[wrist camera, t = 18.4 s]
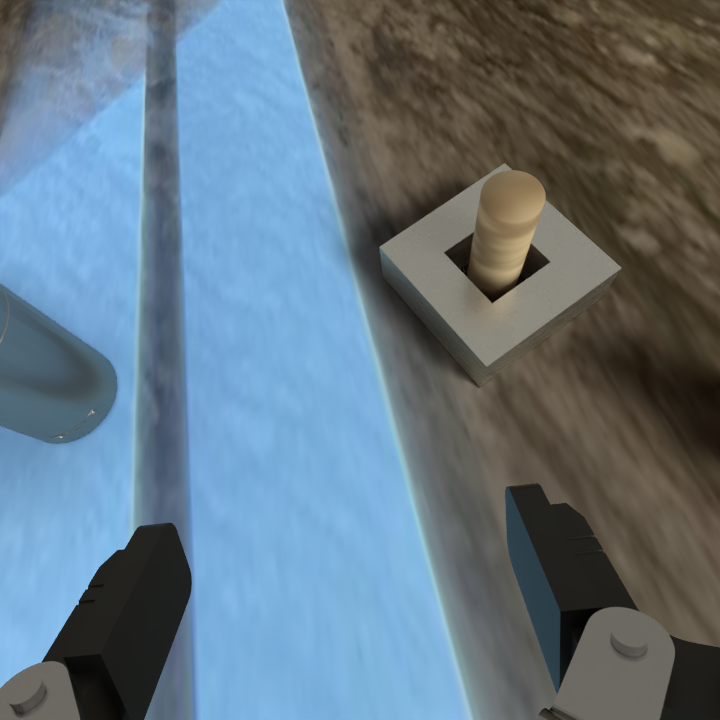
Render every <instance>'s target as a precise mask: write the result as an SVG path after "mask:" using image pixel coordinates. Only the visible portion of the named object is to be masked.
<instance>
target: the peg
mask: <svg viewBox="0 0 720 720" xmlns="http://www.w3.org/2000/svg"><path fill="white" fill-rule="evenodd" d="M544 203H545V191H544V188H543V186H542V184H541V183H540V182H539V181H538V180H537V179H536V178H535V177H533V176H532V175H530V174H528V173H525V172H522V171H516V170H509V171H503V172H499V173H497V174H495V175H493V176H491V177H490V178H489V179H488V180H487V181H486V182H485V183H484V185H483V187H482V189H481V194H480V200H479V206H478V212H477V218H476V224H475V230H474V236H473V242H472V248H471V254H470V260H469V266H468V272H467V278H468V279H469V280H470V281H471V282H472V283H473V284H474V285H475V286H476V287H477V288H478V289H479V290H480V291H481V292H482V293H483V294H484V295H485V296H486V297H487V299H488V300H489V301H490V302H491V303H494V302H495V301H497V300H498V299H499V298H501V297H502V296H504V295H505V294H506V293H508V292H509V291H511V290H512V289H514V288H515V287H516V284H517V281H518V279H519V276H520V273H521V270H522V267H523V264H524V261H525V258H526V255H527V252H528V249H529V247H530V244H531V241H532V238H533V235H534V232H535V229H536V226H537V223H538V220H539V217H540V215H541V212H542V209H543V206H544Z"/></svg>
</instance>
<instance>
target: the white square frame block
mask: <svg viewBox="0 0 720 720" xmlns="http://www.w3.org/2000/svg"><path fill="white" fill-rule="evenodd" d="M509 170H512V169H510V168H509V167H508V166H507V165H506V164H503V165H502V166H500V167H499V168H497V169H496V170H494V171H493V172H491V173H490V174H488V175H487V176H485V177H484V178H482V179H481V180H479V181H478V182H476V183H475V184H473V185H472V186H470V187H469V188H467V189H466V190H464V191H463V192H461V193H460V194H458V195H457V196H455V197H454V198H452V199H451V200H449V201H448V202H446V203H445V204H443V205H442V206H440V207H439V208H437V209H436V210H434V211H433V212H431V213H430V214H428V215H427V216H425V217H424V218H422V219H421V220H419V221H418V222H416V223H415V224H413V225H412V226H410V227H409V228H407V229H406V230H404V231H403V232H401V233H400V234H398V235H397V236H395V237H394V238H392V239H391V240H389V241H388V242H386V243H385V244H383V245H382V246H380V247H379V248H380V256H381V265H382V274H383V278H384V279H385V280H386V281H387V282H388V283H389V284H390V286H391V287H392V288H393V289H394V290H395V291H396V292H397V294H398V295H399V296H400V297H401V298H402V299H403V301H404V302H405V303H406V304H407V305H408V306H409V307H410V309H411V310H412V311H413V312H414V313H415V314H416V315H417V317H418V318H419V319H420V320H421V321H422V322H423V323H424V325H425V326H426V327H427V328H428V329H429V330H430V332H431V333H432V334H433V335H434V336H435V337H436V338H437V340H438V341H439V342H440V343H441V344H442V345H443V346H444V348H445V349H446V350H447V351H448V352H449V353H450V354H451V356H452V357H453V358H454V359H455V360H456V361H457V363H458V364H459V365H460V366H461V367H462V368H463V369H464V371H465V372H466V373H467V374H468V375H469V376H470V377H471V379H472V380H473V381H474V382H475V383H476V384H477V385H478V387H479V388H480V387H482V386H483V385H484V384H486V383H487V382H488V381H490V380H491V379H492V378H494V377H495V376H496V375H498V374H499V373H500V372H502V371H503V370H505V369H506V368H507V367H509V366H510V365H511V364H513V363H514V362H515V361H517V360H518V359H519V358H521V357H522V356H524V355H525V354H526V353H528V352H529V351H530V350H532V349H533V348H534V347H536V346H537V345H538V344H540V343H541V342H543V341H544V340H545V339H547V338H548V337H549V336H551V335H552V334H553V333H555V332H556V331H557V330H559V329H560V328H562V327H563V326H564V325H566V324H567V323H568V322H570V321H571V320H572V319H574V318H575V317H576V316H578V315H579V314H581V313H582V312H583V311H585V310H586V309H587V308H589V307H590V306H591V305H593V304H594V303H595V302H597V301H598V300H599V299H601V298H602V297H603V295H604V294H605V292H606V291H607V289H608V288H609V286H610V285H611V283H612V282H613V280H614V279H615V277H616V276H617V274H618V273H619V271H620V270H621V267H620V266H619V265H618V264H617V263H615V262H614V261H613V260H612V259H611V258H610V257H609V256H608V255H606V254H605V253H604V252H603V251H602V250H601V249H600V248H599V247H598V246H596V245H595V244H594V243H593V242H592V241H591V240H590V239H589V238H587V237H586V236H585V235H584V234H583V233H582V232H581V231H580V230H579V229H577V228H576V227H575V226H574V225H573V224H572V223H571V222H570V221H569V220H567V219H566V218H565V217H564V216H563V215H562V214H561V213H560V212H558V211H557V210H556V209H555V208H554V207H553V206H552V205H551V204H550V203H548V202H547V201H546V200H545V203H544V206H543V209H542V212H541V215H540V217H539V220H538V223H537V226H536V229H535V232H534V235H533V238H532V241H531V244H530V247H529V249H528V252H527V255H526V258H525V261H524V264H523V267H522V270H521V273H520V274H521V275H522V276H523V277H524V278H525V279H526V280H525V281H523V282H522V283H521V284H519V285H518V286H516V287H515V288H514V289H512V290H511V291H509V292H508V293H506V294H505V295H504V296H502V297H501V298H499V299H498V300H497V301H495V302H494V303H491V302H490V301H489V300H488V299H487V297H486V296H485V295H484V294H483V293H482V292H481V291H480V290H479V289H478V288H477V287H476V286H475V285H474V284H473V283H472V282H471V281H470V280H469V279H468V278H467V277H466V275H465V274H464V273H463V272H462V271H461V270H460V269H461V268H463V267H464V266H466V265H467V264H468V263H469V260H470V254H471V248H472V242H473V236H474V230H475V224H476V218H477V212H478V206H479V200H480V194H481V189H482V187H483V185H484V183H485V182H486V181H487V180H488V179H489V178H490V177H491V176H493V175H495V174H497V173H499V172H503V171H509Z"/></svg>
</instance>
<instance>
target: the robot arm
mask: <svg viewBox="0 0 720 720" xmlns="http://www.w3.org/2000/svg"><path fill="white" fill-rule="evenodd" d="M116 391H117V377H116V374H115V370H114V368H113V366H112V365H111V363H110V361H109V360H108V359H107V358H106V357H105V356H103V355H102V354H101V353H99V352H98V351H96V350H95V349H93V348H92V347H91V346H89V345H88V344H86V343H85V342H83V341H82V340H81V339H79V338H78V337H76V336H75V335H74V334H72V333H71V332H69V331H68V330H66V329H65V328H63V327H62V326H61V325H59V324H58V323H56V322H55V321H53V320H52V319H51V318H49V317H48V316H46V315H45V314H43V313H42V312H41V311H39V310H38V309H36V308H35V307H33V306H32V305H31V304H29V303H28V302H26V301H25V300H23V299H22V298H20V297H19V296H18V295H16V294H15V293H13V292H12V291H10V290H9V289H8V288H6V287H5V286H3V285H2V284H0V426H2V427H4V428H7V429H10V430H13V431H15V432H18V433H21V434H24V435H27V436H30V437H33V438H36V439H39V440H41V441H44V442H47V443H56V444H59V443H68V442H71V441H74V440H77V439H79V438H81V437H83V436H85V435H87V434H89V433H90V432H91V431H92V430H94V429H95V428H96V427H97V426H98V425H99V424H100V423H101V422H102V421H103V420H104V419H105V417H106V416H107V414H108V413H109V411H110V409H111V407H112V405H113V402H114V400H115V396H116ZM505 499H506V526H507V543H508V550H509V555H510V560H511V563H512V567H513V570H514V572H515V575H516V578H517V581H518V584H519V587H520V590H521V592H522V595H523V598H524V601H525V604H526V607H527V610H528V613H529V615H530V618H531V621H532V624H533V627H534V630H535V633H536V635H537V638H538V641H539V644H540V647H541V650H542V653H543V655H544V658H545V661H546V664H547V667H548V670H549V673H550V676H551V678H552V681H553V684H554V687H555V690H556V693H557V696H556V699H555V701H554V703H553V705H552V707H551V708H550V710H548V709H547V708H544V709H542V711H541V712H540V713H539V715H538V717H537V719H536V720H720V648H719V647H714V646H708V645H703V644H697V643H692V642H688V641H684V640H681V639H678V638H675V637H673V636H671V635H669V634H668V633H667V632H666V630H665V629H664V628H663V627H662V626H661V625H660V624H659V623H658V622H656V621H655V620H654V619H652V618H651V617H649V616H647V615H646V614H644V613H641V612H640V611H639V610H638V609H637V607H636V605H635V604H634V602H633V600H632V598H631V597H630V595H629V593H628V592H627V590H626V588H625V586H624V585H623V583H622V581H621V580H620V578H619V576H618V574H617V573H616V571H615V569H614V568H613V566H612V564H611V562H610V561H609V559H608V557H607V556H606V554H605V553H603V549H602V547H601V545H600V544H599V542H598V540H597V538H595V536H594V533H593V531H592V530H591V528H590V526H589V525H588V523H587V521H586V519H585V518H584V517H583V516H582V515H581V514H580V513H578V512H577V511H576V510H574V509H573V508H572V507H571V506H569V505H568V504H567V503H562V504H552V505H550V503H549V501H548V499H547V497H546V495H545V493H544V492H543V490H542V488H541V486H540V485H539V484H538V483H536V484H527V485H518V486H509V487H506V490H505ZM191 586H192V579H191V571H190V568H189V565H188V562H187V559H186V556H185V553H184V550H183V547H182V544H181V541H180V538H179V536H178V533H177V530H176V527H175V526H174V525H173V524H172V523H163V524H154V525H145V526H140V527H138V528H137V529H136V531H135V532H134V534H133V536H132V537H131V539H130V541H129V543H128V544H127V546H126V548H125V549H124V550H117V551H116V552H115V553H114V554H113V555H112V556H111V557H110V558H109V559H108V560H107V561H106V562H104V563H103V564H102V565H101V566H100V567H99V569H98V570H97V572H96V574H95V575H94V577H93V579H92V580H91V582H90V584H89V585H88V589H87V590H85V592H84V593H83V595H82V597H81V598H80V600H79V605H76V607H75V608H74V610H73V611H72V613H71V615H70V616H69V618H68V620H67V621H66V623H65V625H64V626H63V628H62V630H61V631H60V633H59V634H58V636H57V638H56V639H55V641H54V643H53V644H52V646H51V648H50V649H49V651H48V653H47V654H46V656H45V658H44V659H43V661H42V662H41V663H38V664H35V665H33V666H30V667H28V668H26V669H25V670H23V671H21V672H20V673H18V674H16V675H15V676H14V677H12V678H11V679H10V680H9V681H8V682H6V683H5V684H4V685H3V686H2V687H1V688H0V720H144V718H145V716H146V713H147V710H148V708H149V705H150V702H151V700H152V697H153V694H154V692H155V689H156V686H157V683H158V681H159V678H160V675H161V673H162V670H163V667H164V665H165V662H166V659H167V657H168V654H169V651H170V649H171V646H172V643H173V641H174V638H175V635H176V633H177V630H178V627H179V625H180V622H181V619H182V616H183V614H184V611H185V608H186V606H187V603H188V600H189V597H190V594H191Z"/></svg>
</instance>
